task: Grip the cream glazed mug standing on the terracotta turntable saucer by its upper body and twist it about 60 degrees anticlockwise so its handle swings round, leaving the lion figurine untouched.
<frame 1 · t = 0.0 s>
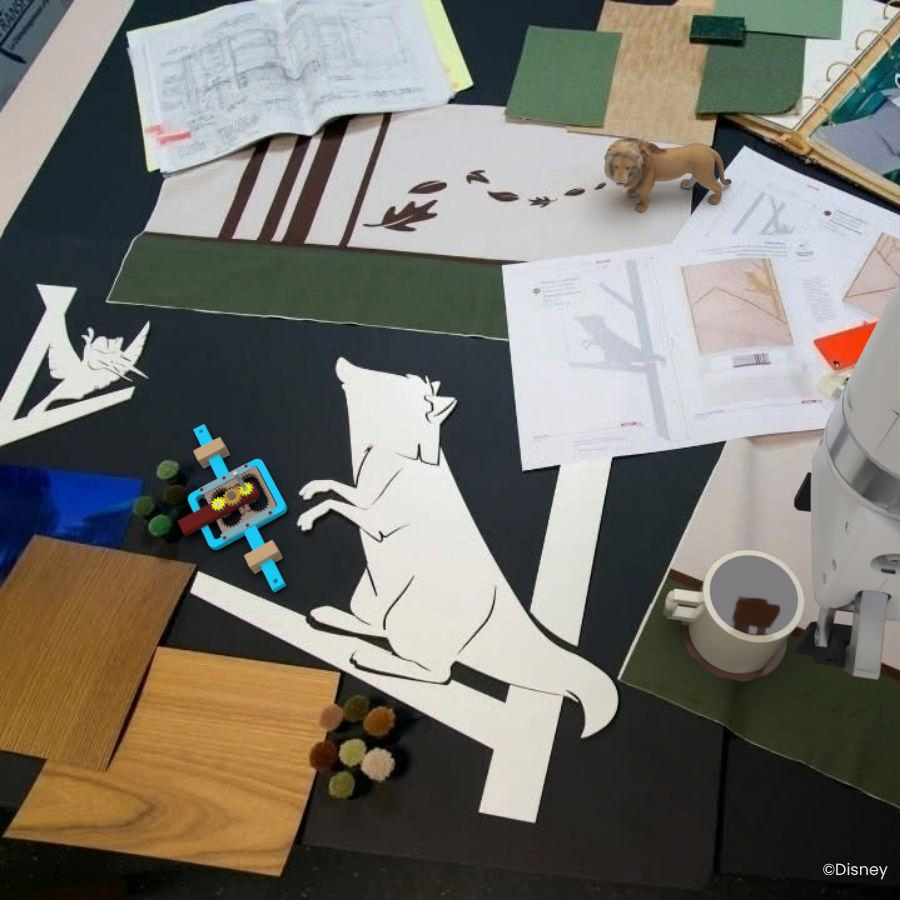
hand: (819, 577, 54), 18 cm above the table, tool pointing down, fingers open, 9 cm apart
gear mechanism: (233, 511, 82), on the table
mug: (727, 610, 67), point 5 cm above the table, hinge at 0.0°
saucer: (731, 634, 71), on the table
lion figurine: (662, 202, 96), on the table
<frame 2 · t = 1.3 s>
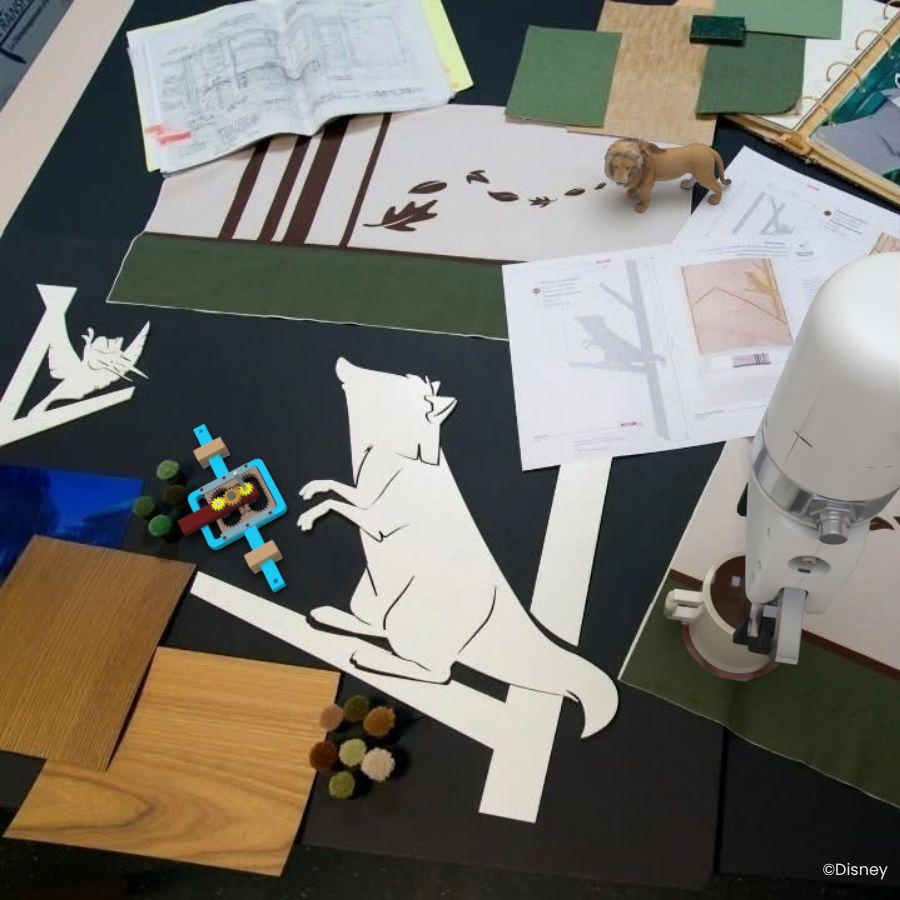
hand: (757, 576, 60), 13 cm above the table, tool pointing down, fingers open, 9 cm apart
nothing on the table moved.
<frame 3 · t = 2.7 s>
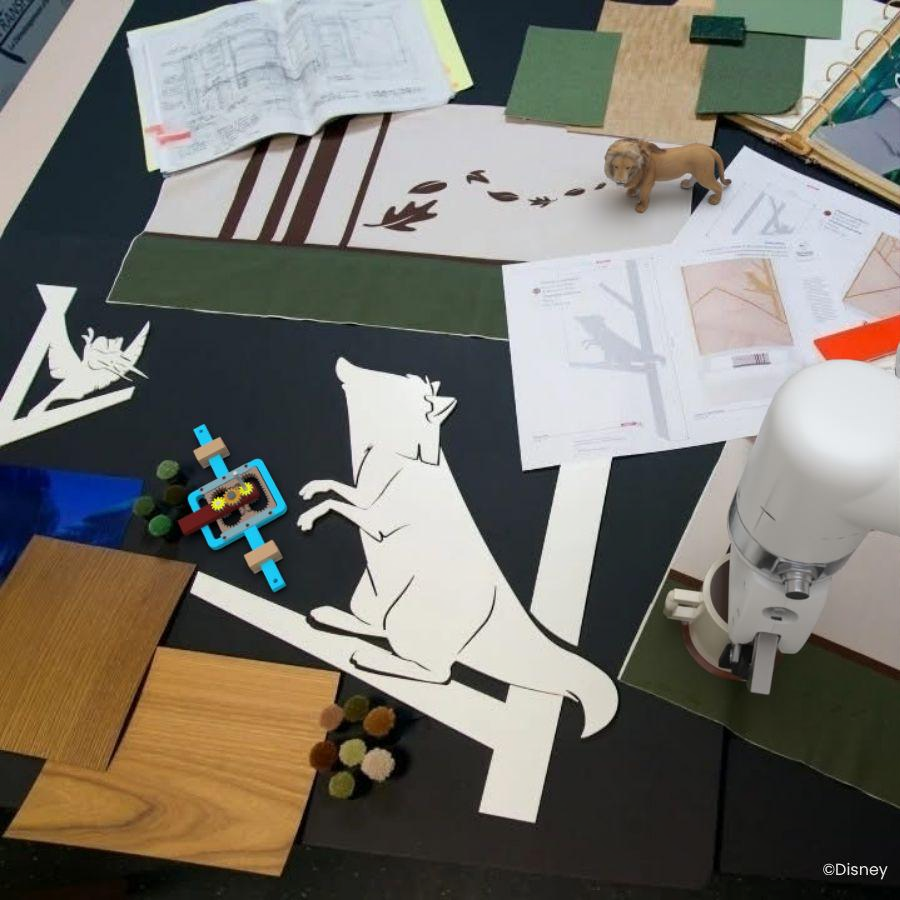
hand: (741, 616, 67), 4 cm above the table, tool pointing down, fingers closed on mug, 7 cm apart
mug: (727, 610, 67), point 5 cm above the table, hinge at -0.2°, touching gripper
everything else where it was.
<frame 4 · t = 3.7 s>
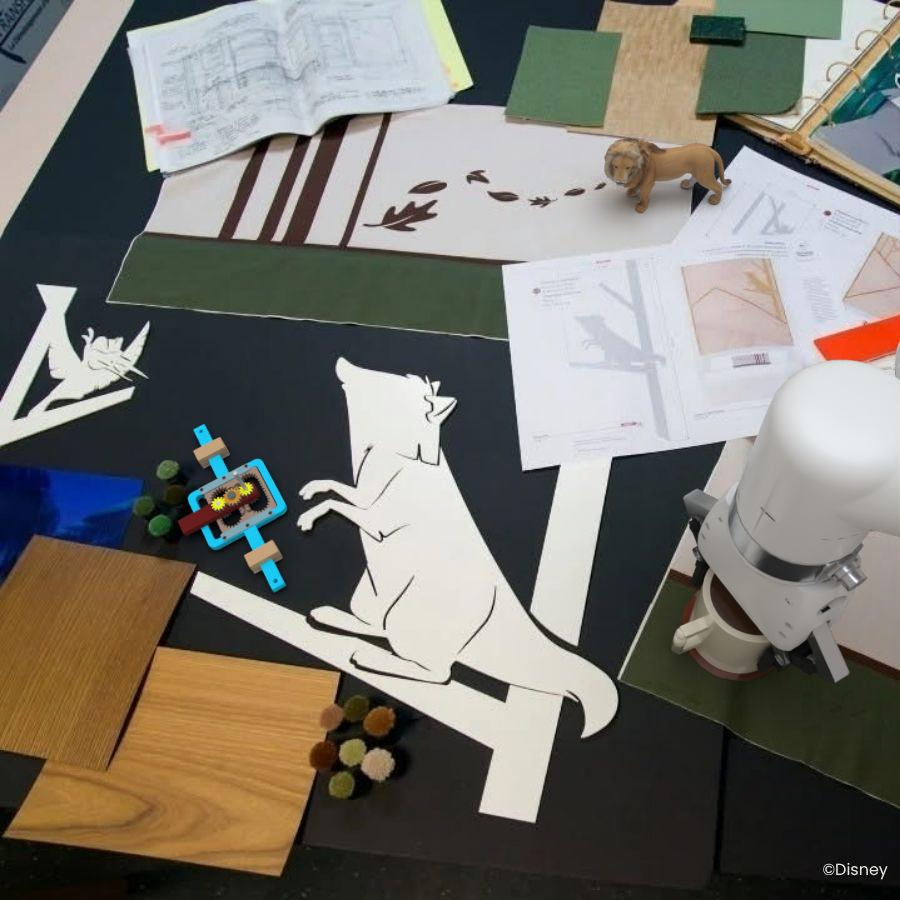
hand: (740, 616, 67), 4 cm above the table, tool pointing down, fingers closed on mug, 7 cm apart
mug: (730, 618, 66), point 5 cm above the table, hinge at 32.0°, touching gripper
everything else where it was.
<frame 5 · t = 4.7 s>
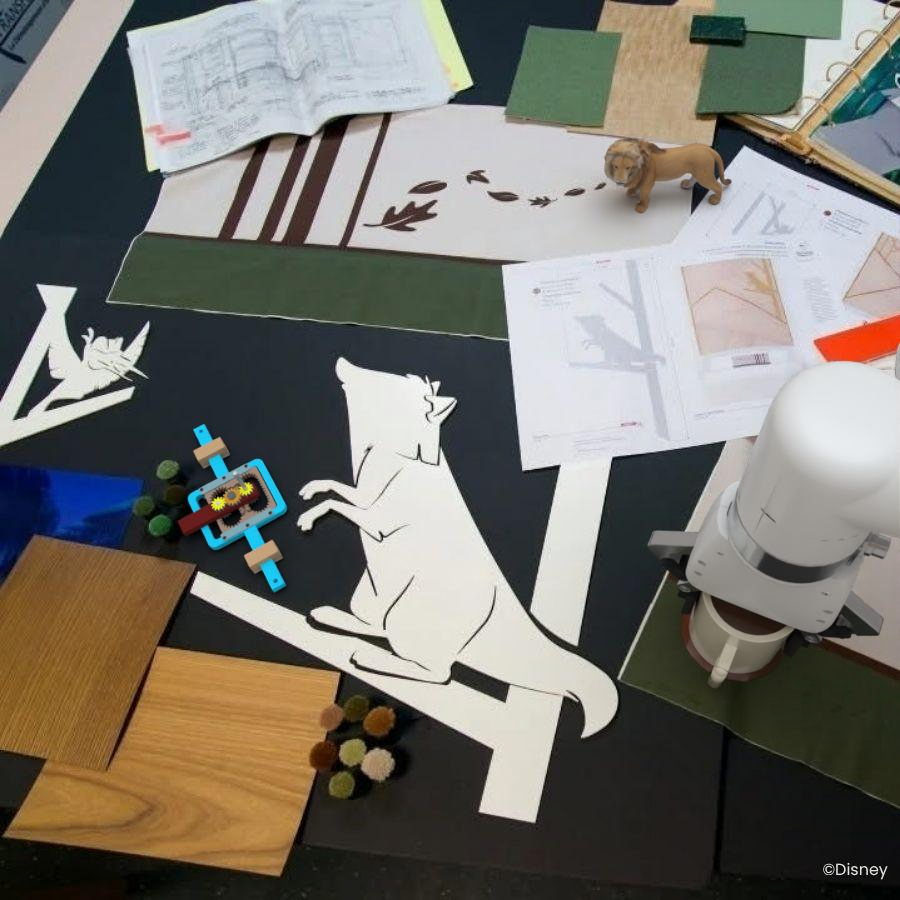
hand: (740, 617, 67), 4 cm above the table, tool pointing down, fingers closed on mug, 7 cm apart
mug: (738, 625, 66), point 5 cm above the table, hinge at 72.1°, touching gripper
everything else where it was.
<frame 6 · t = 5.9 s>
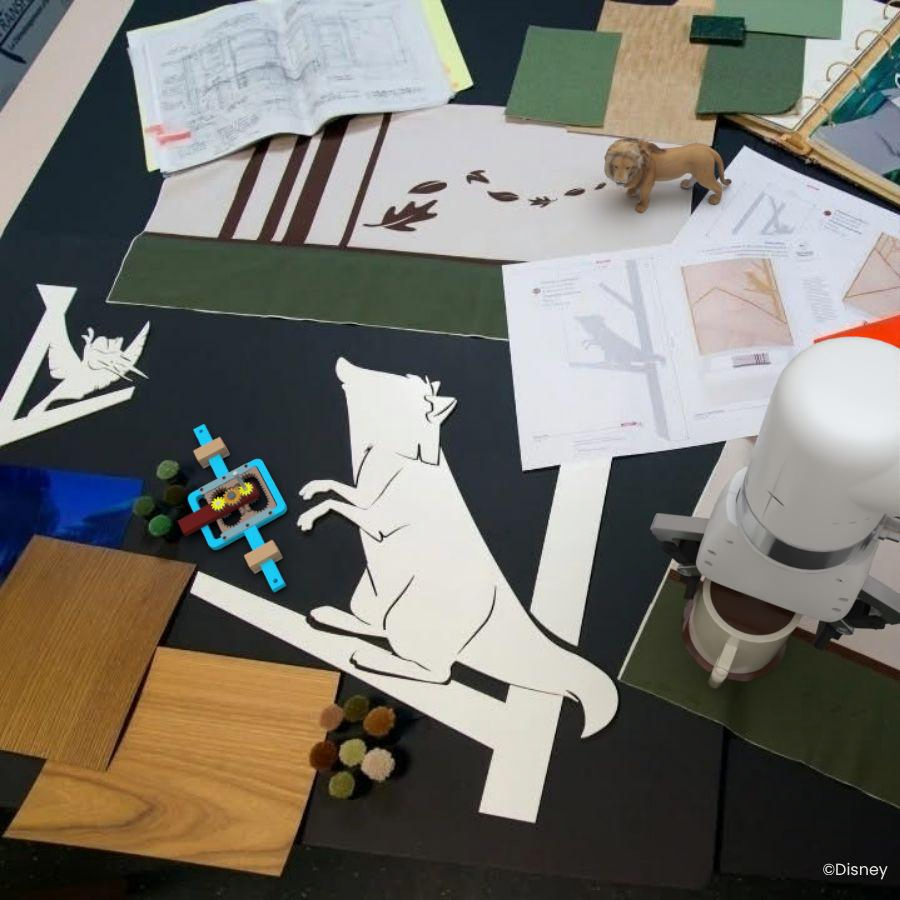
hand: (756, 606, 65), 7 cm above the table, tool pointing down, fingers open, 9 cm apart
mug: (738, 625, 66), point 5 cm above the table, hinge at 72.3°
everything else where it was.
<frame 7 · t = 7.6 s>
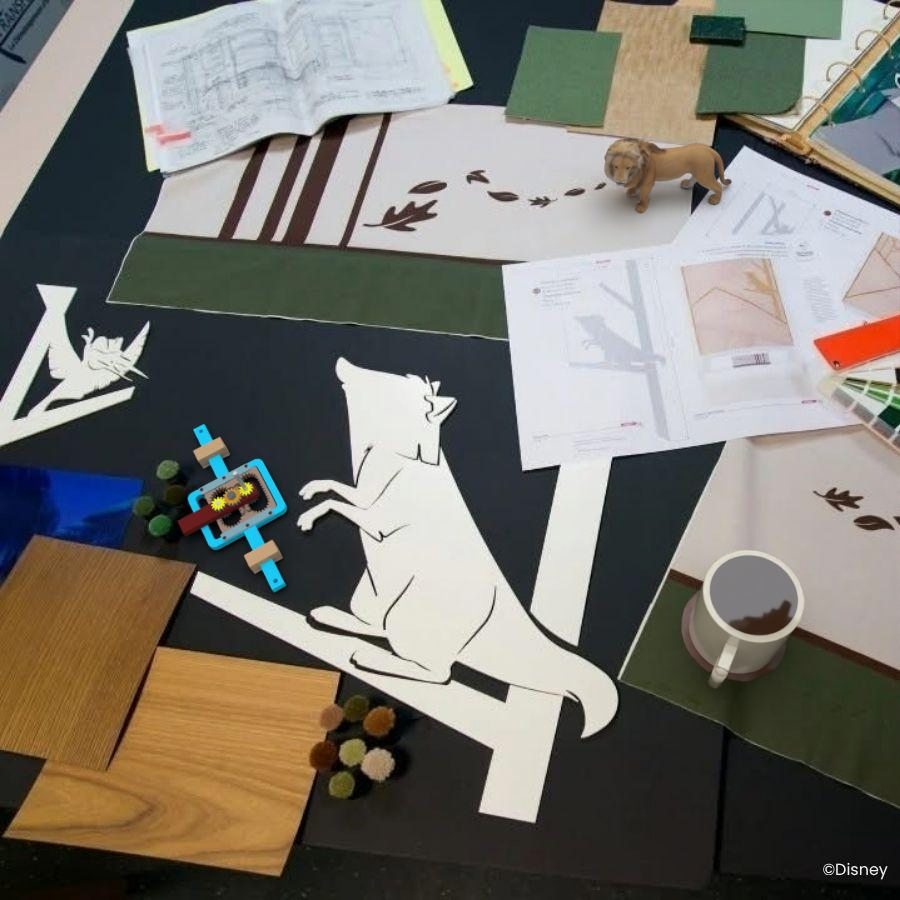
nothing on the table moved.
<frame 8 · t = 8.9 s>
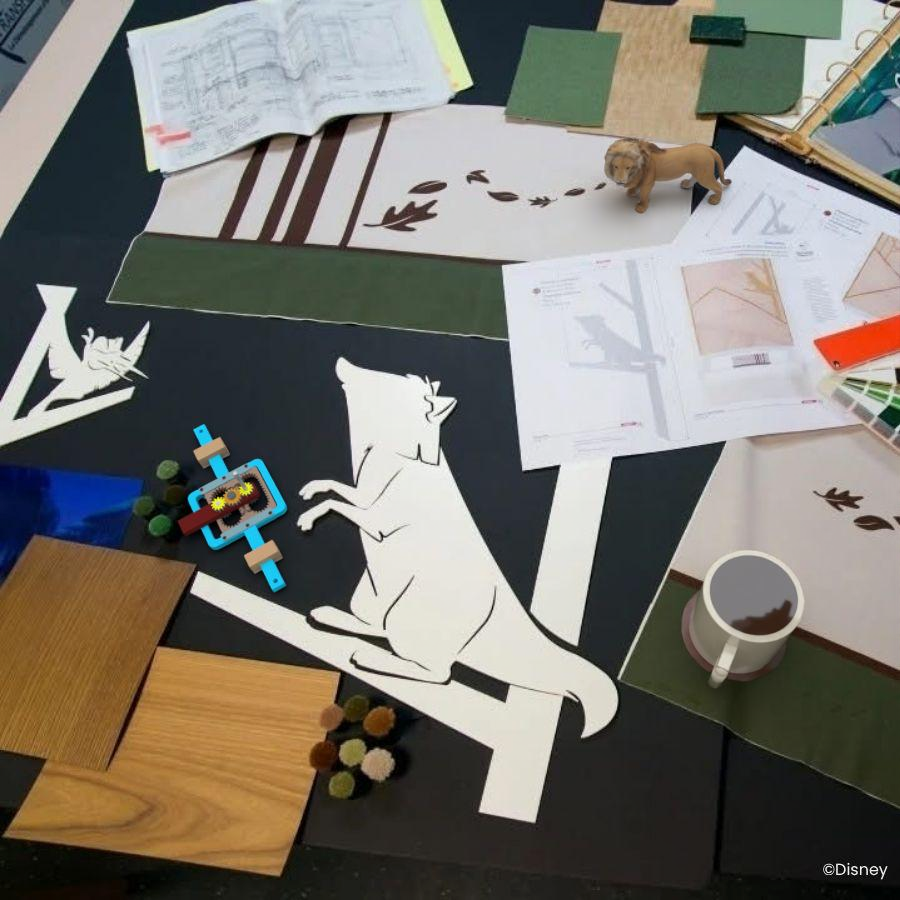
nothing on the table moved.
at the end: mug at +72° (first picture: +0°); lion figurine moved 0.2 cm from its start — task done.
